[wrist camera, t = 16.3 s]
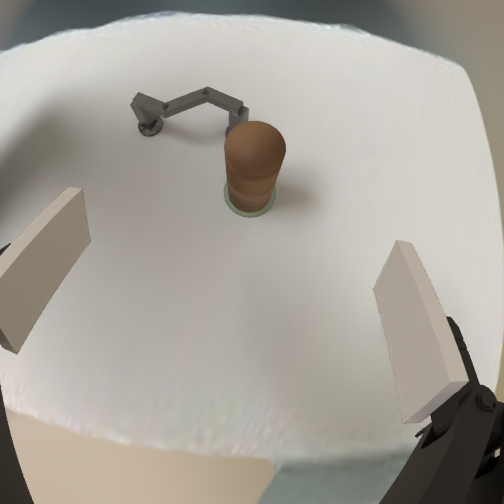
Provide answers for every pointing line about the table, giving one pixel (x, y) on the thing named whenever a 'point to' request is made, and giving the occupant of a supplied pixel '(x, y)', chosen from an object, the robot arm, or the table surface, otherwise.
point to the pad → (246, 212)
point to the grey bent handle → (185, 108)
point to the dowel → (253, 164)
